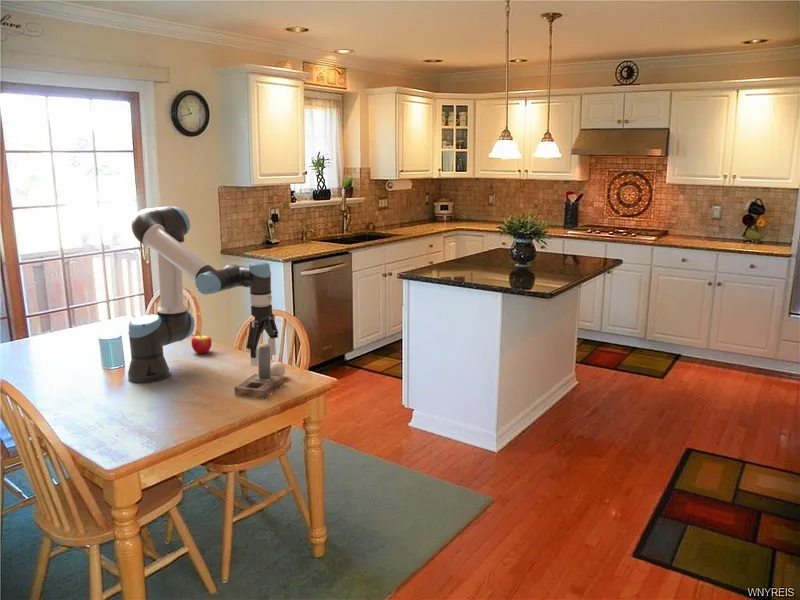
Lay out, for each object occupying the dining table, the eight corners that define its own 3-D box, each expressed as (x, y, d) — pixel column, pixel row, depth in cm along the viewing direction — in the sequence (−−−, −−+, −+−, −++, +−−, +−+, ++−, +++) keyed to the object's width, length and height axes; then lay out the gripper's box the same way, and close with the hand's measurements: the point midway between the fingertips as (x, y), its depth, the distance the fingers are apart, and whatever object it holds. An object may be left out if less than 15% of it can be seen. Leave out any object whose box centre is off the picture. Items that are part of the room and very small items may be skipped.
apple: (188, 353, 278) (186, 330, 276) (205, 348, 284) (204, 327, 282) (198, 357, 273) (196, 334, 270) (215, 352, 279) (214, 330, 276)
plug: (256, 378, 238) (255, 345, 235) (262, 375, 242) (261, 342, 239) (267, 380, 237) (266, 347, 234) (272, 376, 241) (271, 343, 238)
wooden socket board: (235, 395, 231) (234, 386, 230) (255, 381, 245) (254, 373, 244) (265, 398, 228) (264, 390, 227) (283, 384, 242) (283, 376, 241)
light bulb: (257, 372, 241) (283, 359, 246) (253, 370, 247) (278, 358, 252) (264, 387, 242) (290, 375, 247) (259, 385, 248) (284, 373, 253)
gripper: (254, 313, 220) (256, 371, 225) (285, 297, 243) (287, 351, 248) (234, 311, 222) (237, 369, 227) (267, 296, 245) (270, 349, 250)
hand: (263, 360), depth 238 cm, fingers open, 13 cm apart
